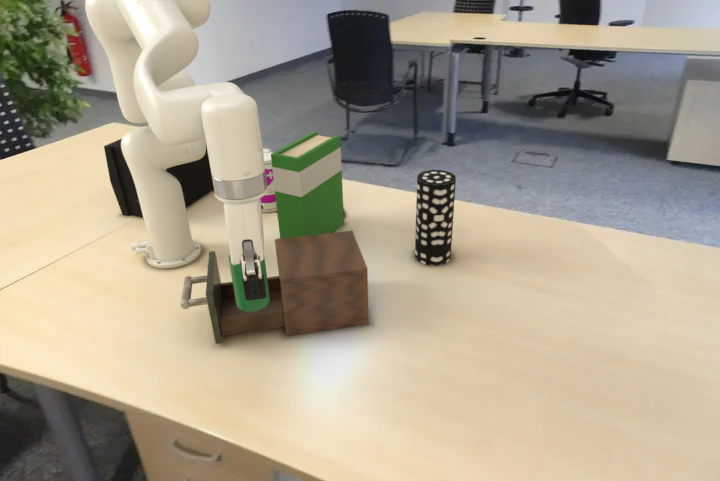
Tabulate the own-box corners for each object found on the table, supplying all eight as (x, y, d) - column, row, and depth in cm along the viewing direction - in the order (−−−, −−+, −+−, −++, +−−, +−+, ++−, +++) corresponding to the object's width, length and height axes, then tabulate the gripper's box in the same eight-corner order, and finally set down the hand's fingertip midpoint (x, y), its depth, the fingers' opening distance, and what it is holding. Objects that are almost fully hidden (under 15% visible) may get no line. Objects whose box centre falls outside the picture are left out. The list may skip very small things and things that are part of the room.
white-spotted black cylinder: (427, 243, 133) (430, 167, 123) (457, 254, 128) (463, 175, 118) (407, 257, 127) (409, 178, 117) (438, 269, 123) (442, 188, 113)
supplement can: (282, 213, 149) (276, 161, 142) (252, 213, 149) (245, 162, 142) (286, 200, 156) (281, 150, 149) (258, 200, 156) (251, 151, 149)
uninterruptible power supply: (119, 214, 151) (100, 145, 141) (195, 170, 178) (184, 110, 168) (166, 223, 145) (150, 152, 135) (237, 177, 172) (228, 114, 162)
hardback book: (320, 217, 146) (314, 131, 134) (343, 223, 143) (340, 135, 131) (281, 247, 133) (270, 154, 121) (306, 254, 130) (298, 159, 118)
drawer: (186, 347, 100) (174, 297, 95) (192, 301, 113) (182, 254, 107) (301, 331, 104) (297, 281, 98) (294, 288, 116) (289, 242, 111)
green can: (236, 313, 86) (228, 265, 81) (236, 294, 90) (228, 247, 86) (270, 309, 86) (264, 260, 82) (269, 290, 91) (262, 243, 87)
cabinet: (286, 336, 104) (279, 279, 97) (280, 292, 116) (274, 239, 110) (368, 324, 106) (367, 268, 100) (354, 282, 119) (352, 230, 112)
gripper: (215, 164, 85) (232, 263, 94) (211, 211, 70) (231, 323, 79) (263, 159, 86) (275, 257, 95) (269, 205, 71) (283, 316, 80)
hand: (255, 286), depth 87 cm, fingers closed on green can, 5 cm apart
